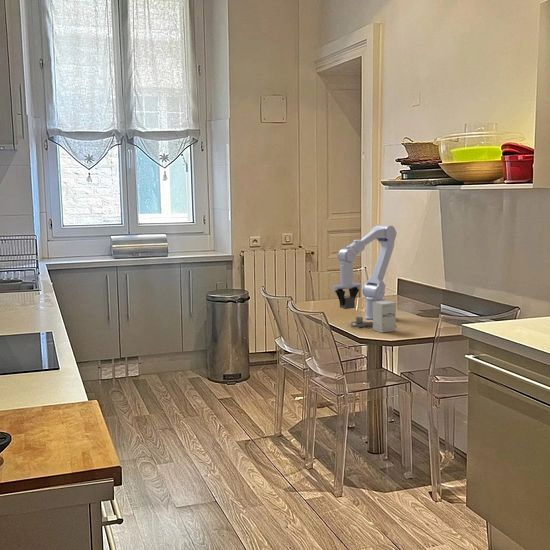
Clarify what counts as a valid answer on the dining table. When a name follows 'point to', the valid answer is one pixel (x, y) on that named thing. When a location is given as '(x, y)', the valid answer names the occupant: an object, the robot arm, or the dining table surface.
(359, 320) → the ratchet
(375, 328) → the supplement box
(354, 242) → the robot arm
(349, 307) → the dark grey cube
